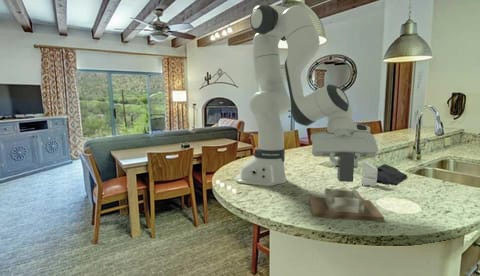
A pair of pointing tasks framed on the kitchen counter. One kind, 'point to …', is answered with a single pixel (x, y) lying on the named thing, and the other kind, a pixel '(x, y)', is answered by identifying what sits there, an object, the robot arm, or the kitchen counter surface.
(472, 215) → the kitchen counter surface
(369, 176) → the white wedge bracket
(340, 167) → the black plug
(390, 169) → the dark slate chunk
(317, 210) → the socket block
